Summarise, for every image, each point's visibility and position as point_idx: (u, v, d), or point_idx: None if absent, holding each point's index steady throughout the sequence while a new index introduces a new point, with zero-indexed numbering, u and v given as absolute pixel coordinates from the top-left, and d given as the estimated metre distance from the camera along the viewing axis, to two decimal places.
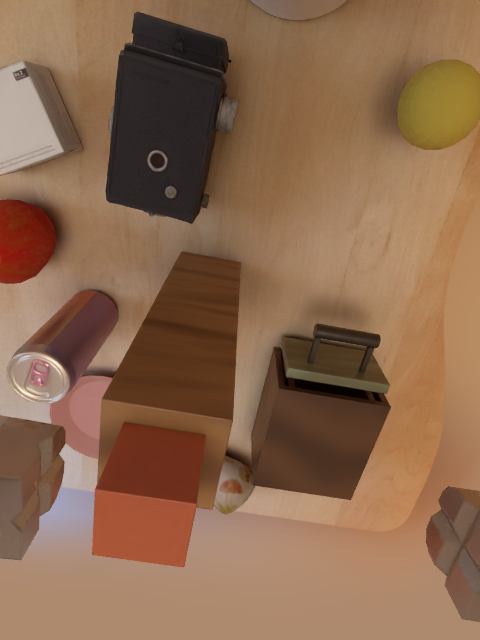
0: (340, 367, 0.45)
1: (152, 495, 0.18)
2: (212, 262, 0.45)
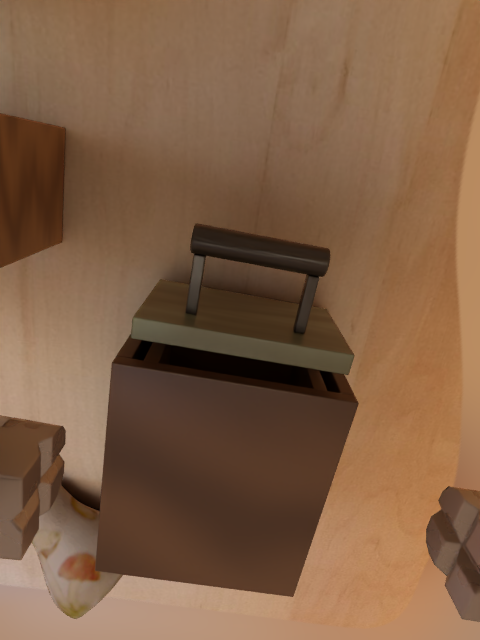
0: (255, 323, 0.22)
1: None
2: None
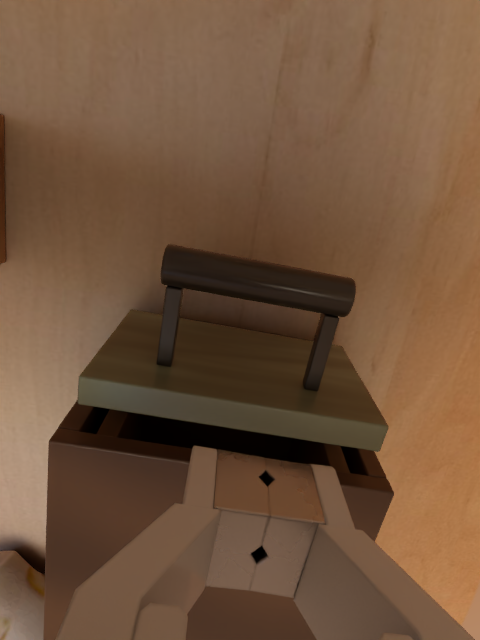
0: (252, 376, 0.16)
1: None
2: None
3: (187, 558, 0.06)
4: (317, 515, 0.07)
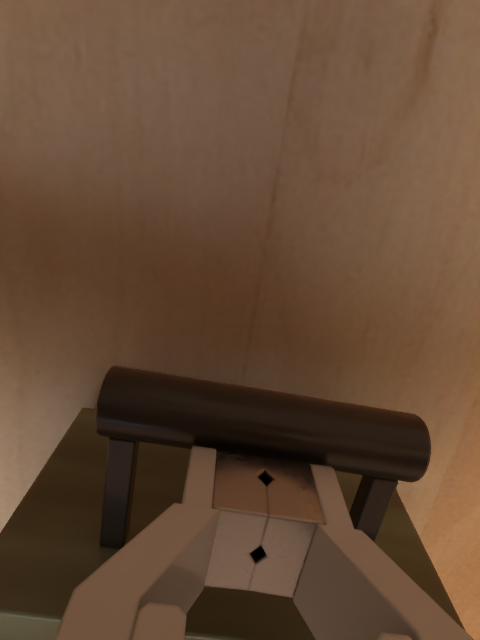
0: None
1: None
2: None
3: (186, 557, 0.06)
4: (316, 515, 0.07)
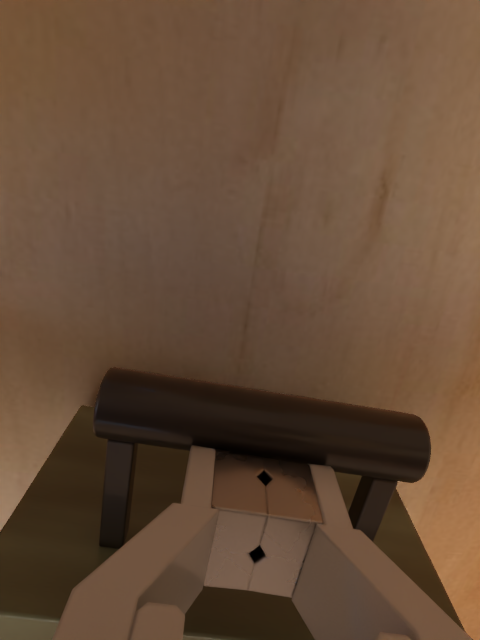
0: None
1: None
2: None
3: (185, 557, 0.06)
4: (315, 515, 0.07)
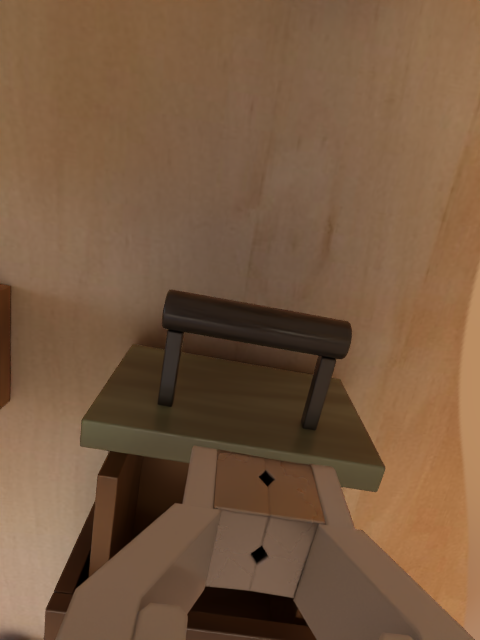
0: (251, 415, 0.17)
1: None
2: None
3: (187, 558, 0.06)
4: (317, 515, 0.07)
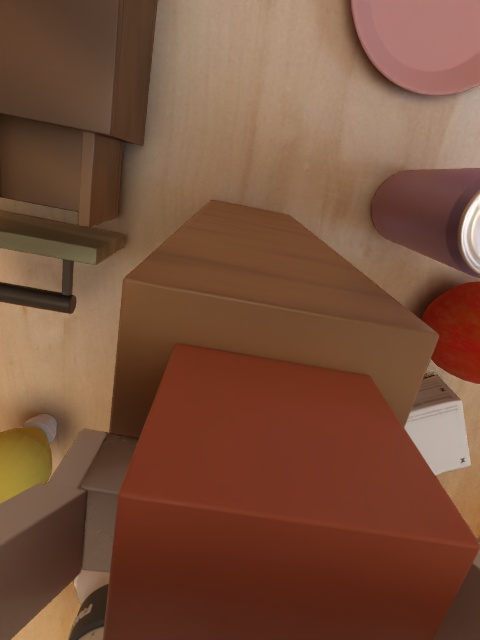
0: None
1: None
2: None
3: (35, 538, 0.06)
4: None
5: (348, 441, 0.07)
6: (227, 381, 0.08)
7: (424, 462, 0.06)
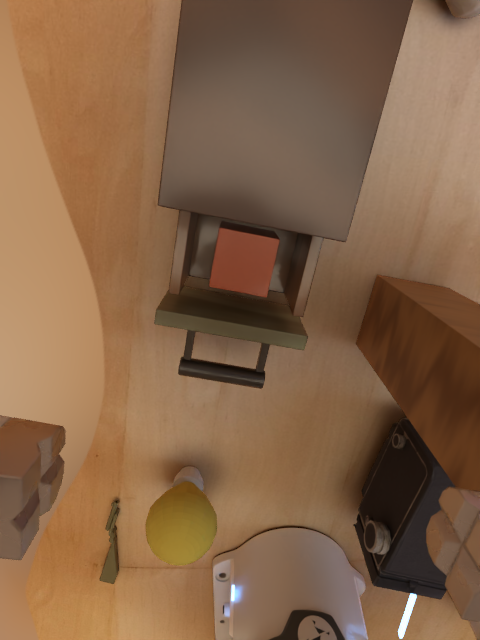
0: None
1: None
2: None
3: None
4: None
5: (261, 232, 0.31)
6: (236, 225, 0.32)
7: (277, 236, 0.31)
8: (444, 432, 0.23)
